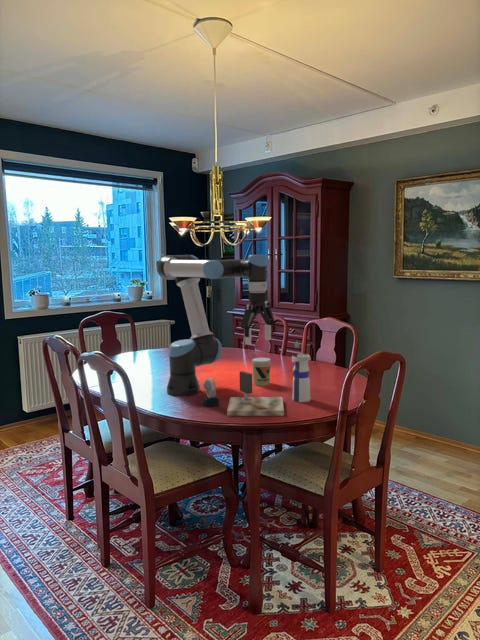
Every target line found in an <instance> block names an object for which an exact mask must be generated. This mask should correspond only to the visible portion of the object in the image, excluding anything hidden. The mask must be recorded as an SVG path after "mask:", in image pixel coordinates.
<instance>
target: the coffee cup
mask: <svg viewBox="0 0 480 640" xmlns="http://www.w3.org/2000/svg"><path fill="white" fill-rule="evenodd" d="M271 363H272V360H271V358H270V357H269V358H268V357H255V358H253V359H252V360H251V364H252V365H251V367H252V382H253V384H254V386H259V387H260V386H261V387H264V386H269V385H270V382H271V367H272V364H271Z"/></svg>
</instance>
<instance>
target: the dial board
mask: <svg viewBox="0 0 480 640" xmlns="http://www.w3.org/2000/svg"><path fill="white" fill-rule="evenodd" d="M242 398H244V396H230V398H229V401H228V405H227V406H228V407H227V410H226V411H227V412H226V415H227V416H229V417H230V416H232V417H237V416H238V417H239V416H241V417H243V416H244V417H247V416H251V417H252V416H255V417H256V416H258V417H260V416H261V417H262V416H264V417H265V416H268V417H269V416H271V417H275V416H278V417H279V416H280V417H283V416H285V409H284V400H283V399H284V398H283V397H282V396H271V397H270V396H267V397H266V396H254V397H253V396H248V398H251V399H252V402H255V403H258V404H260V405H263V406H265V408H261V407H259V406H256V405H253V404H241V399H242Z"/></svg>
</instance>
